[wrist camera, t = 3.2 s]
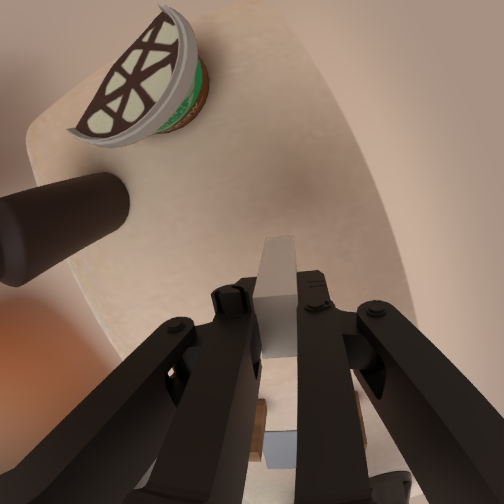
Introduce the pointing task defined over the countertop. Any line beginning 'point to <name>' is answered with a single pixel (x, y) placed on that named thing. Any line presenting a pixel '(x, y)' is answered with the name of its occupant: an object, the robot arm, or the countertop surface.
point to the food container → (148, 87)
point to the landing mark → (280, 449)
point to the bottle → (56, 223)
